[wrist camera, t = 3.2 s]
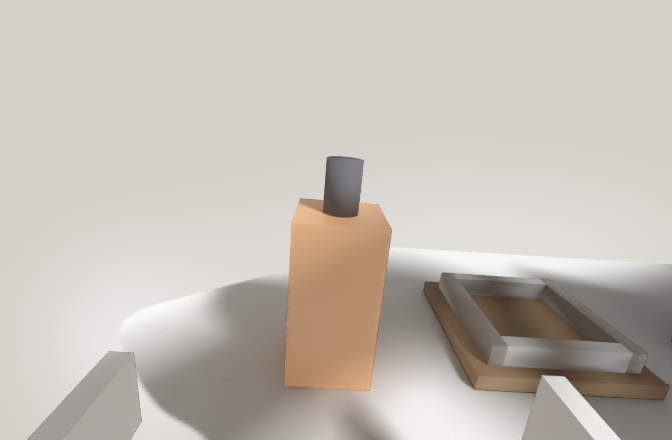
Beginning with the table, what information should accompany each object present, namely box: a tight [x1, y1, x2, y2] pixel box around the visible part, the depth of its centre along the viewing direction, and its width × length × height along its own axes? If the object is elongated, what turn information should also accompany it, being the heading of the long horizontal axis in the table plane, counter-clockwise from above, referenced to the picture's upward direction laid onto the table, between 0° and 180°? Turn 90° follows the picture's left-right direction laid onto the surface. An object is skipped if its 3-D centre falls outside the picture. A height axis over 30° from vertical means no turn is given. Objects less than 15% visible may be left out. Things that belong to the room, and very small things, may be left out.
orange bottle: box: [284, 156, 392, 391], centre depth 20 cm, size 5×5×13 cm
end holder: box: [423, 273, 670, 400], centre depth 26 cm, size 12×12×2 cm
